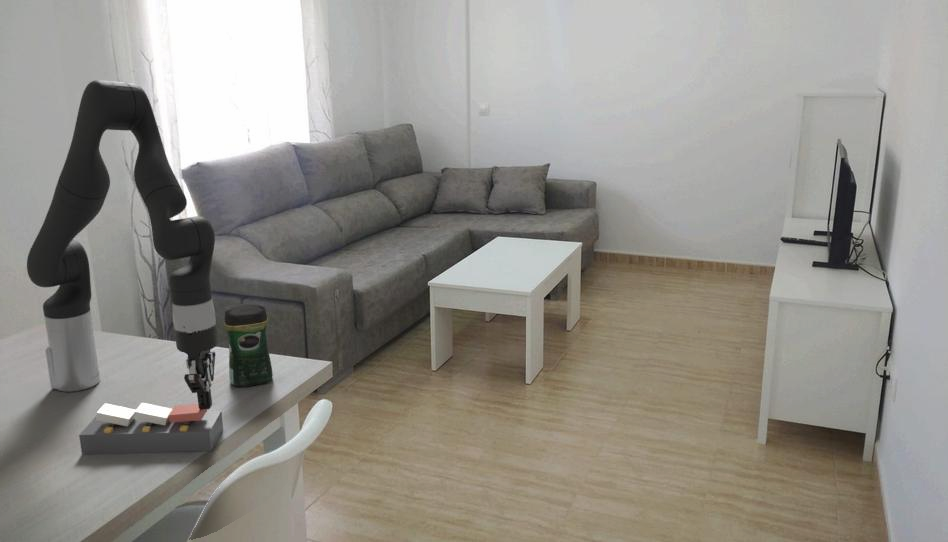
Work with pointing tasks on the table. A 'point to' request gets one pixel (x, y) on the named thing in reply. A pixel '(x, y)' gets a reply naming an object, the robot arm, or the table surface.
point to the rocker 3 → (186, 413)
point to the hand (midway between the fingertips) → (205, 407)
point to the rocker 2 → (152, 414)
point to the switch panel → (152, 436)
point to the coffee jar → (248, 344)
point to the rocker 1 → (115, 414)
